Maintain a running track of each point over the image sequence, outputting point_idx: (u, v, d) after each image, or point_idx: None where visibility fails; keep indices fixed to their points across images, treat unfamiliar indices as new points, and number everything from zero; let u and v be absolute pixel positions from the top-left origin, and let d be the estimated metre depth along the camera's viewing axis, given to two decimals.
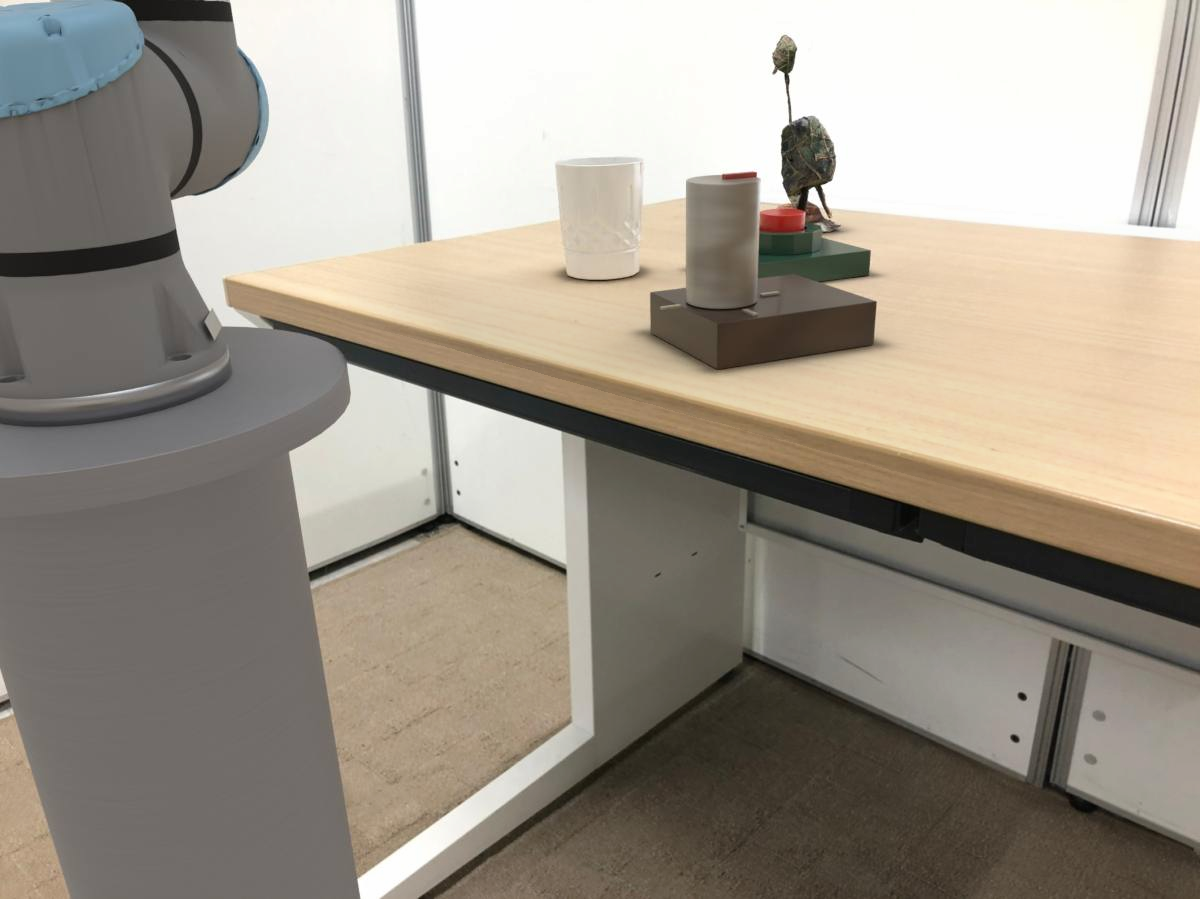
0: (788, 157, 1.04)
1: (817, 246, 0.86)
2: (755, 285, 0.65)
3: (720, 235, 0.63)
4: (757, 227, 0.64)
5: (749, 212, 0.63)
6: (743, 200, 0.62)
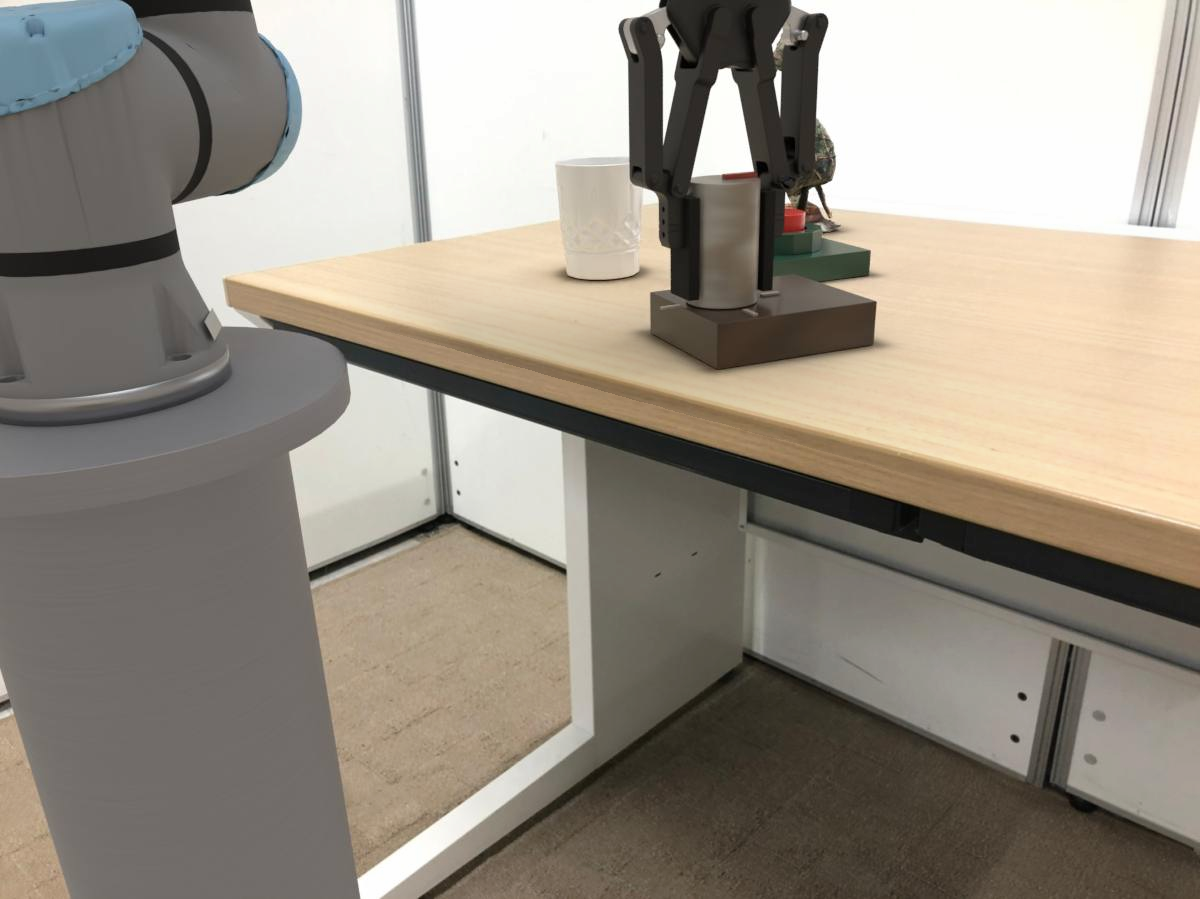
0: None
1: (817, 246, 0.86)
2: (755, 285, 0.65)
3: (720, 235, 0.63)
4: (757, 227, 0.64)
5: (749, 212, 0.63)
6: (743, 200, 0.62)
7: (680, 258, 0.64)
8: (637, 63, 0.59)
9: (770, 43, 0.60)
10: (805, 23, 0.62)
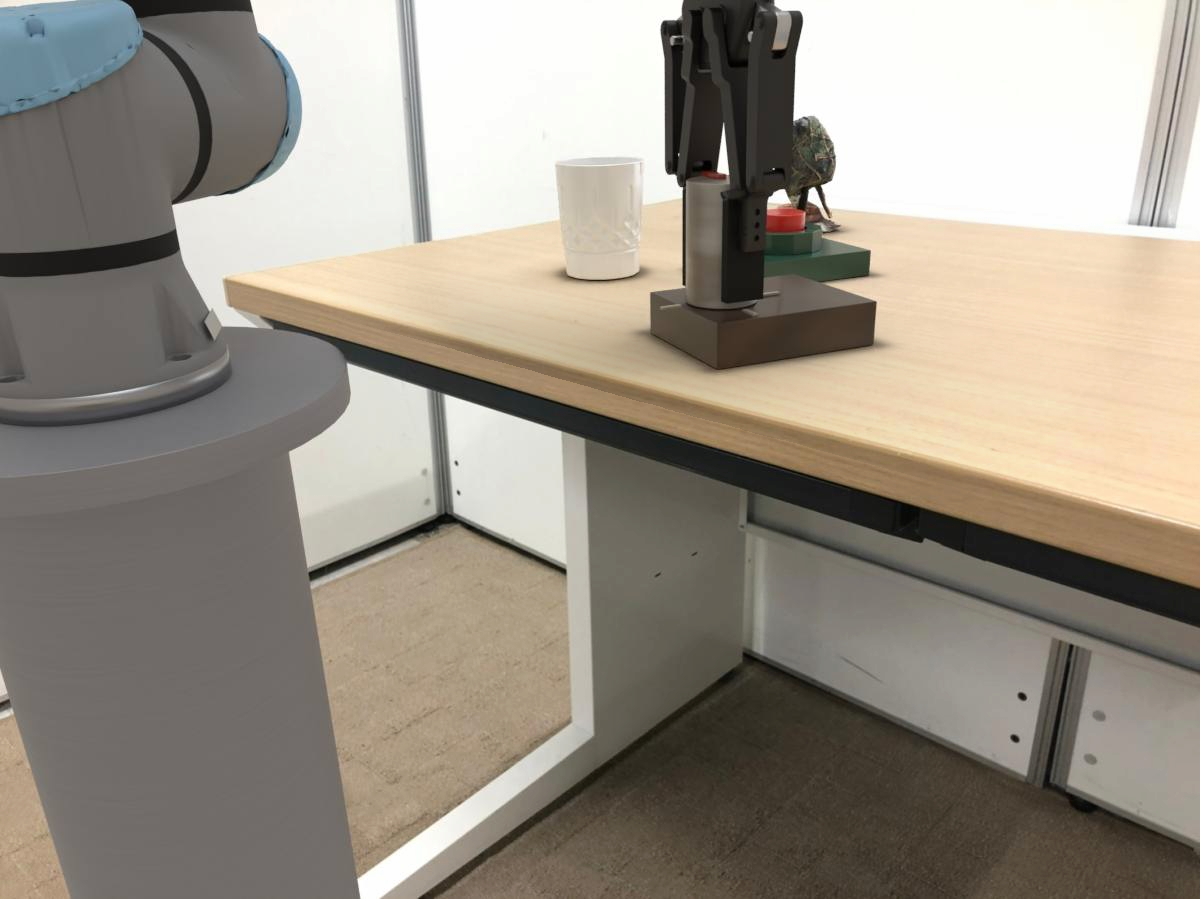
0: None
1: (817, 246, 0.86)
2: None
3: None
4: None
5: None
6: None
7: (747, 261, 0.63)
8: (779, 59, 0.56)
9: None
10: None
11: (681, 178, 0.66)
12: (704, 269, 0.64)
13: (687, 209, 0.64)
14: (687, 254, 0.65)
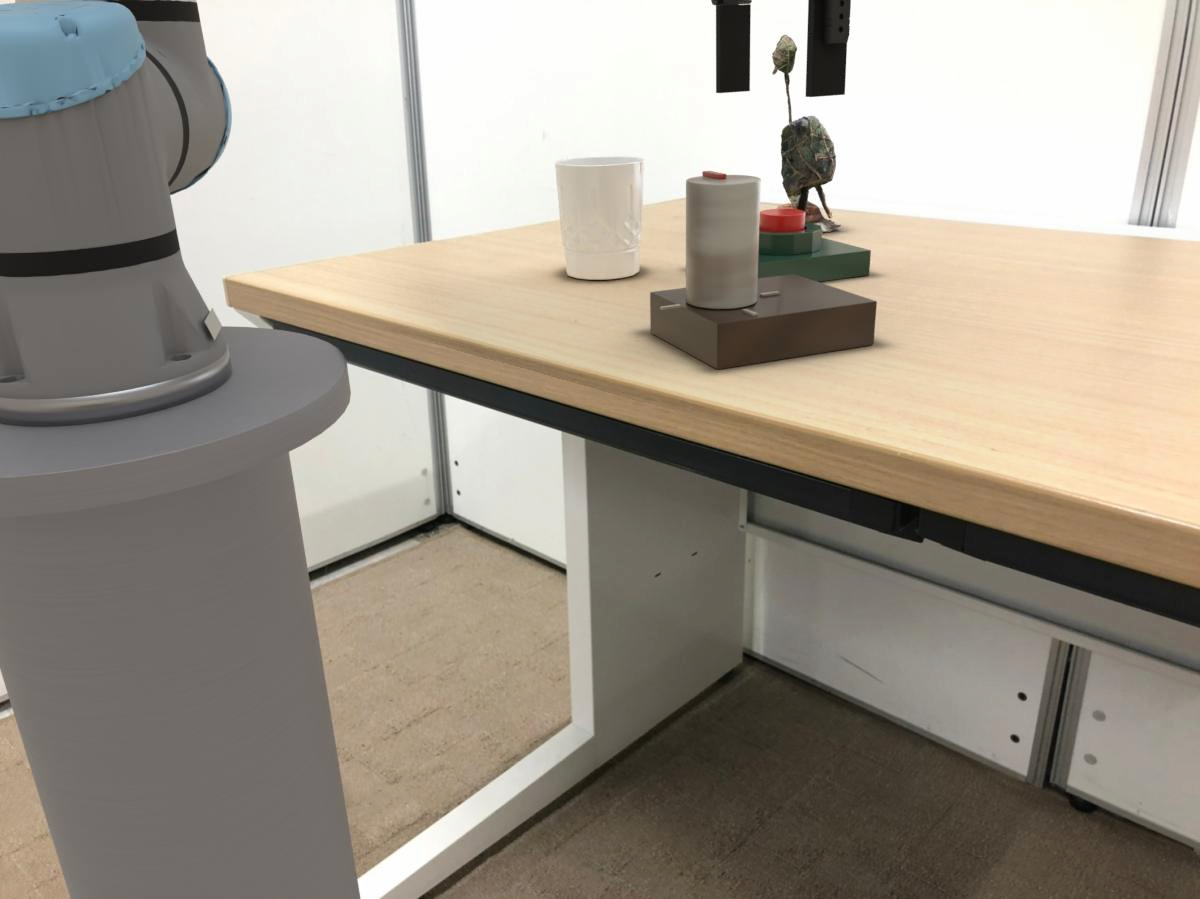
0: (788, 157, 1.04)
1: (817, 246, 0.86)
2: None
3: None
4: None
5: None
6: None
7: (831, 55, 0.68)
8: None
9: None
10: None
11: None
12: (703, 269, 0.64)
13: (687, 209, 0.64)
14: (687, 254, 0.65)
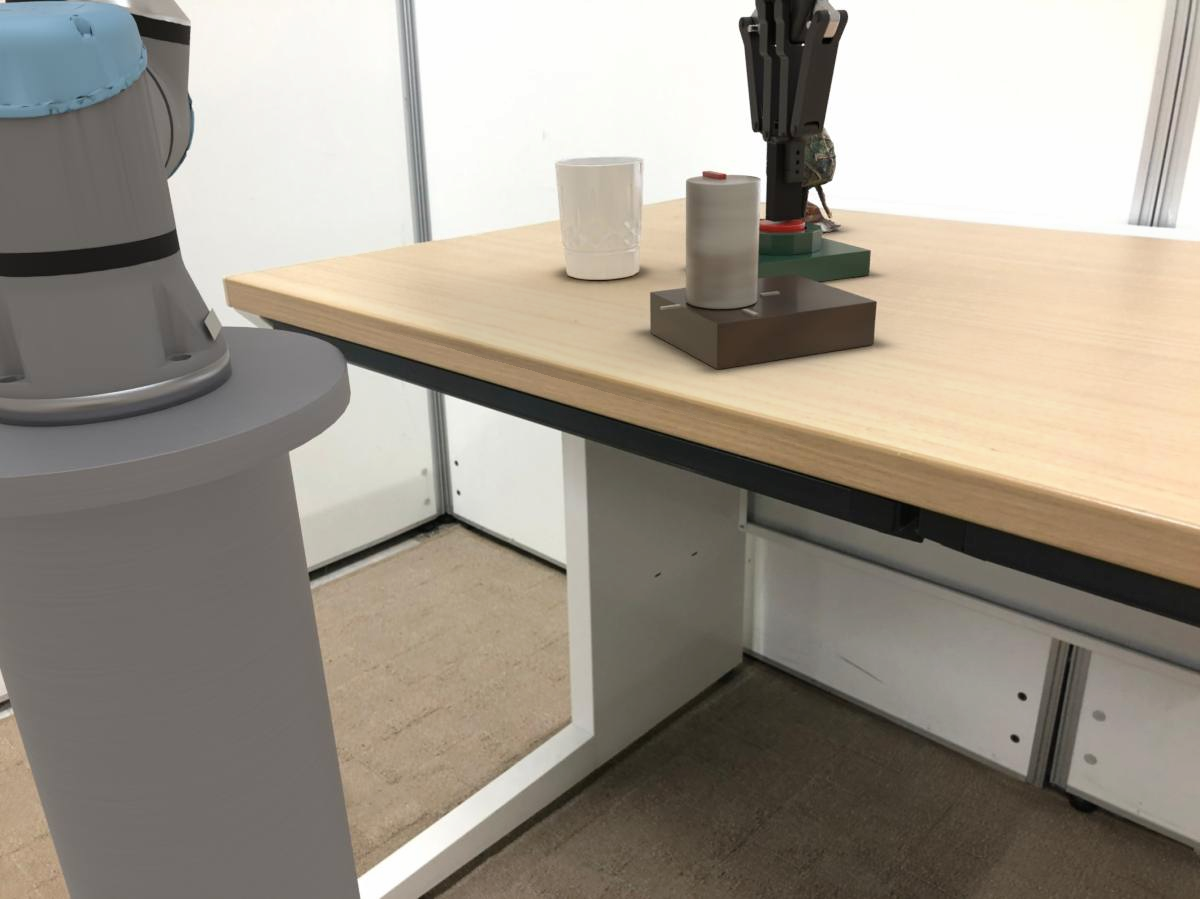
0: None
1: (817, 246, 0.86)
2: None
3: None
4: None
5: None
6: None
7: (790, 190, 0.85)
8: (827, 44, 0.77)
9: None
10: None
11: (766, 133, 0.85)
12: (703, 269, 0.64)
13: (687, 209, 0.64)
14: (687, 254, 0.65)
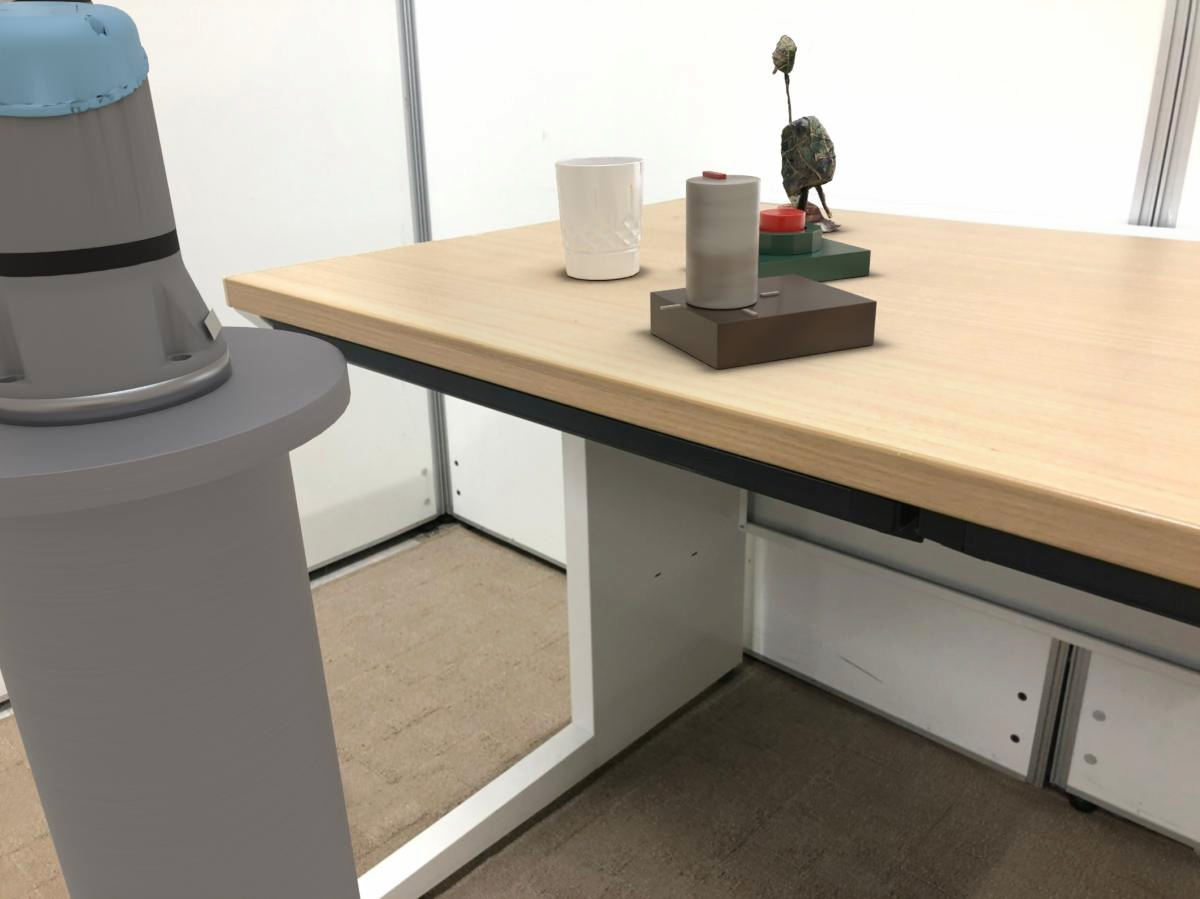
0: (788, 157, 1.04)
1: (817, 246, 0.86)
2: None
3: None
4: None
5: None
6: None
7: None
8: None
9: None
10: None
11: None
12: (703, 269, 0.64)
13: (687, 209, 0.64)
14: (687, 254, 0.65)
